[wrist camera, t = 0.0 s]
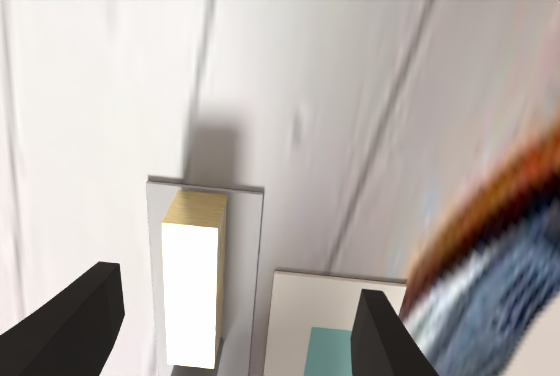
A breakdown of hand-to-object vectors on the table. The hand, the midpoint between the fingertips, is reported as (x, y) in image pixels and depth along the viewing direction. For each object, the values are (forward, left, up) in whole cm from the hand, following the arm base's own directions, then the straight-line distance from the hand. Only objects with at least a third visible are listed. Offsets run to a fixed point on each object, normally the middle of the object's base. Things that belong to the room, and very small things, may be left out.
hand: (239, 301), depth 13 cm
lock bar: (-7, +3, -9) cm, 12 cm away
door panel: (-10, -1, -10) cm, 14 cm away
